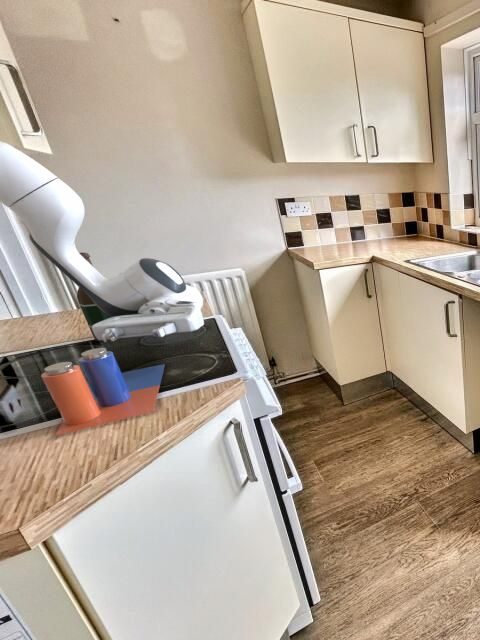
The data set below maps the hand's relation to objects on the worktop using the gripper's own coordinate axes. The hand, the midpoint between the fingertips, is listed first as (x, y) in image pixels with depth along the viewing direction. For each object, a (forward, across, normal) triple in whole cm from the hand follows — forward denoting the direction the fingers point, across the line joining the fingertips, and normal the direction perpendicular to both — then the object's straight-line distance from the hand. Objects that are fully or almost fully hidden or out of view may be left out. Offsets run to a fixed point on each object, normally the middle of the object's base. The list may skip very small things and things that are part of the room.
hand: (131, 336), depth 93 cm
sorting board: (+9, -1, +10) cm, 14 cm away
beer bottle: (-31, -22, +10) cm, 40 cm away
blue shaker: (+12, 0, +9) cm, 15 cm away
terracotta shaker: (+18, -2, +9) cm, 21 cm away
